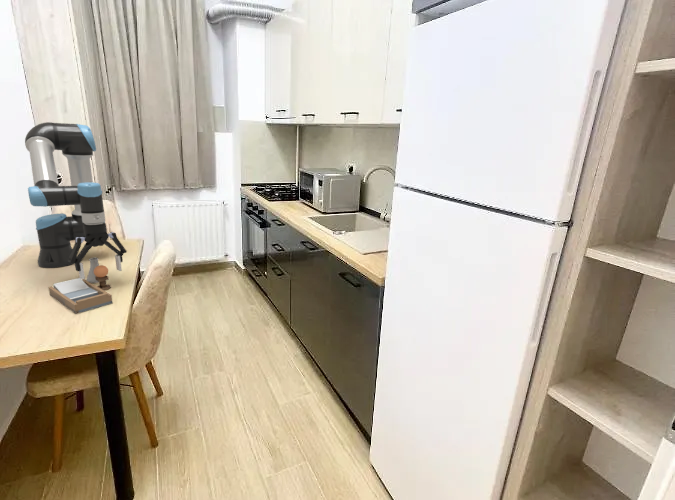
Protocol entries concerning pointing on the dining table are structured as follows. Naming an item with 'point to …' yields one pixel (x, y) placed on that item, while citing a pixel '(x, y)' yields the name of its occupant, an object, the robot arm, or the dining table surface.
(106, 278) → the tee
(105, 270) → the ball
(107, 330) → the dining table surface
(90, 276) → the flask
